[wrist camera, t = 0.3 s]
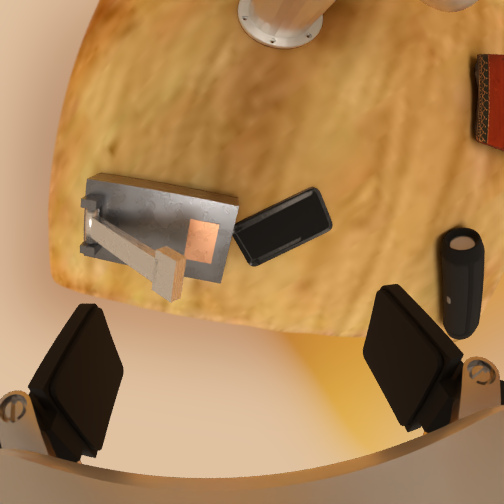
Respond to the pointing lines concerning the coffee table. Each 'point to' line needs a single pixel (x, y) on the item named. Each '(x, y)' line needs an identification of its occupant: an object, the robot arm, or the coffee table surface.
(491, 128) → the decorative box
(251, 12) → the robot arm
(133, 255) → the latch bar
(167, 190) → the base block
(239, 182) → the coffee table surface
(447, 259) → the portable speaker
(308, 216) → the phone
